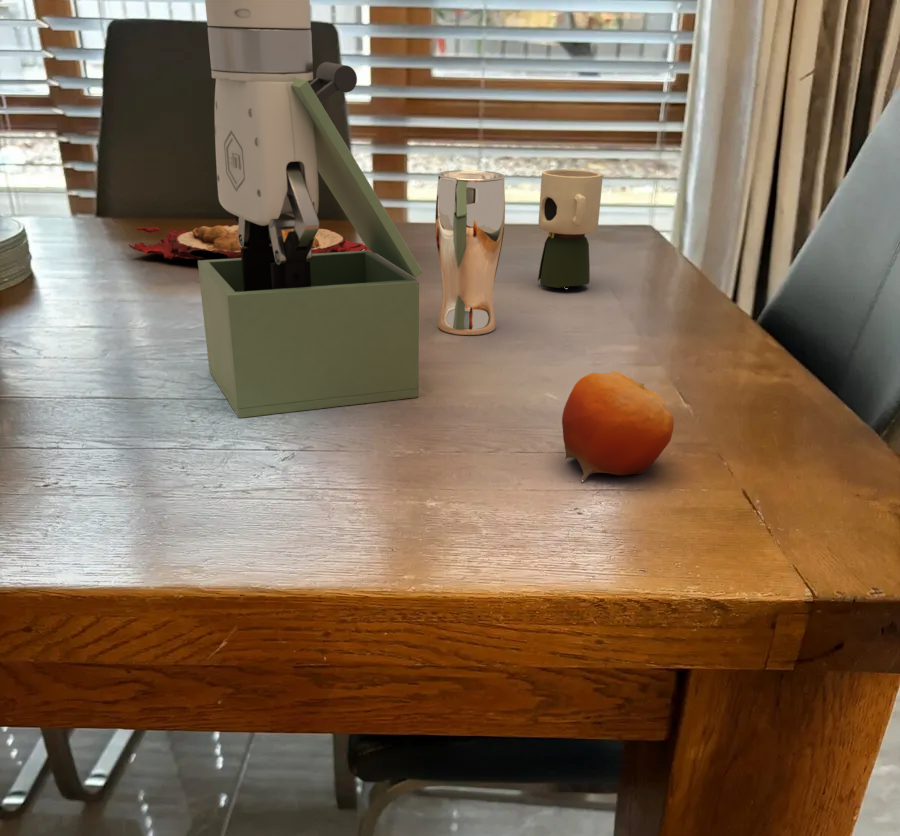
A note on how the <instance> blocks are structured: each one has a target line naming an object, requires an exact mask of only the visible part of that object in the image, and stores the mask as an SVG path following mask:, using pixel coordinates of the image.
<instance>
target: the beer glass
mask: <svg viewBox="0 0 900 836" xmlns="http://www.w3.org/2000/svg"><path fill="white" fill-rule="evenodd" d="M437 176H438V177H437V178H438V179H437V187H436V188H437V189H436V198H435V199H436V200H435V201H436V202H435V216H434V217H435V218H434V219H435V220H434V221H435V222H434V223H435V240H436V249H437V256H438V257H437V258H438V263H439V270H440V276H441V285H442V287H441V288H442V289H441V290H442V295H441V296H442V297H441V306H440V312H439V316H438V321H437V327H438V328H439V330H441V331H442V332H444V333H448V334H451V335H459V336H478V335H479V336H480V335H485V334H489V333H491V332H493V331H495V329H496V317H495V310H494V309H495V308H494V290H495V289H494V288H495V282H496V278H497V277H496V276H497V271H498V266H499V262H500V258H501V252H502V247H503V241H504V235H505V234H504V233H505V225H506V224H505V223H506V191H505V190H506V189H505V188H506V187H505V185H506V184H505V178H506V176H505V175H504V174H503V173H500V172H497V171H496V172H495V171H489V170H479V169H477V170H475V169H454V170H445V171H441V172H439V173H438V174H437Z"/></svg>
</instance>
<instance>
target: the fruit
mask: <svg viewBox="0 0 900 836" xmlns="http://www.w3.org/2000/svg"><path fill="white" fill-rule="evenodd" d="M662 397H663V396H661V395H660V394H659V393H657V392H655V391H654V390H651V389H648V388H646V387H645V385H644V383H642V382H637V381H636V380H634V379H633V378H631V377H628V376H627V375H625V374H623V373H621V372H619V371H611V372H606V373H600V372H599V373H598V372H592V373H589V374H586V375H584V376H583V377H581V378H580V379H578V381H576V383H575V384H574V386H573V388H572V389H571V391H570V393H569V395H568V398H567V400H566V401H565V404H564V408H563V411H562V415H561V416H562V417H561V425H562V426H561V427H562V439H563V444H564V450H565V459H564V460H566V459H571V458H572V459H576V460H577V462H578V464H579V465H580V468H581V471H582V473H583V475H582V476H581V478H580V480H584V481H585V480H586V479H587V478H588V476H590V475H592V474H596V473H597V474H598V473H601V474H602V473H604V474H610V475H616V476H629V475H640V474H639V473H641V474H642V473H644V472H645V471H647V470H648V469H649V468H650V467H651V466H652V465H653V464H654V463H655V461H656V460H657V459H658V458H659V457H660V455H661V454H662V452H663V451H664V450H665V449H666V448H667V447H668V445H669V443H670V442H671V440H672V437H673V432H674V426H675V420H674V415H673V412H672V411H671V409H670V408H669V406H668V404H667V403H666V400H665V399H664V398H662Z"/></svg>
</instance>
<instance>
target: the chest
mask: <svg viewBox="0 0 900 836" xmlns="http://www.w3.org/2000/svg"><path fill="white" fill-rule="evenodd" d="M198 260H199V261H197V267H198V277H199V288H200V295H201V305H202V314H203V323H204V335H205V344H206V353H207V362H208V371H209V373H210V375H211V376H212V378H213V379H214V381H215V383H216V384H217V386H218V388H219V389H220V390H221V392H222V394H223V395H224V397H225V398H226V400H227V401H228V404H229V405H230V407H231V408H232V410H233V411H234V413H235V414H236V416H237V418H238V419H242V418H249V417H259V416H266V415H267V416H268V415H276V414H285V413H293V412H302V411H311V410H319V409H328V408H336V407H337V408H338V407H344V406H345V407H346V406H356V405H363V404H371V403H379V402H387V401H389V402H390V401H398V400H405V399H416V398H419V386H420V385H419V382H420V381H419V380H420V379H419V378H420V377H419V376H420V375H419V372H420V371H419V370H420V369H419V368H420V365H419V363H420V359H419V358H420V280H418V279H417V278H415V277H413V276H411V275H410V274H408V273H407V272H405V271H404V270H402V269H400V268H399V267H397V266H396V265H394V264H392V263H391V262H389V261H388V260H386V259H384V258H383V257H381V256H380V255H378V254H376V253H375V252H373V251H370V250H367V251H351V252H334V253H317V254H312V260H311V262H310V273H311V287H300V288H286V289H272V290H258V291H244V284H243V272H242V260H241V258H233V259H227V258H219V259H218V258H217V259H216V258H215V259H198Z"/></svg>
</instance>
